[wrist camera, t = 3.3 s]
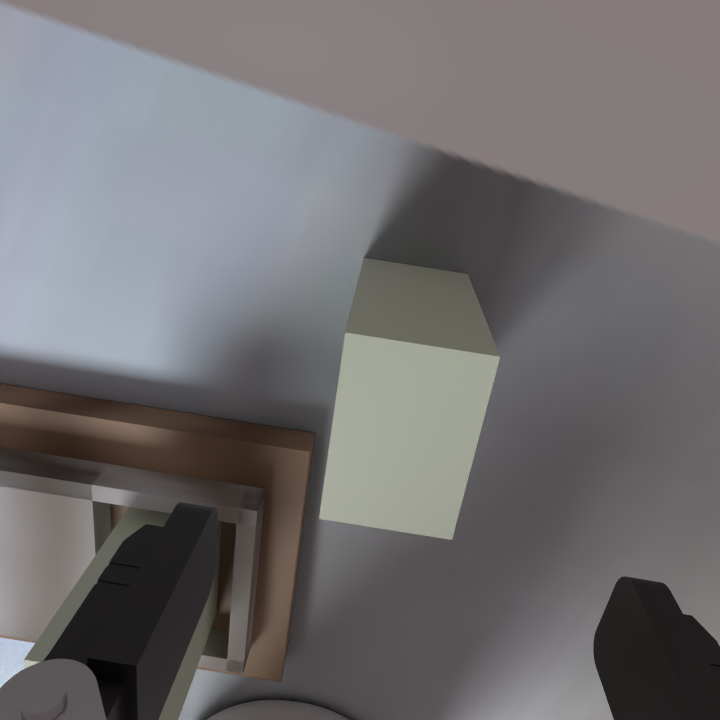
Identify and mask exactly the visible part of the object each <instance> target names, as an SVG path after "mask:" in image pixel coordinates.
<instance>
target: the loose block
mask: <svg viewBox="0 0 720 720" xmlns="http://www.w3.org/2000/svg"><path fill="white" fill-rule="evenodd" d="M499 360H500V355H499V352H498V350H497V347H496V345H495V342H494V340H493V337H492V334H491V332H490V329H489V327H488V324H487V322H486V319H485V317H484V314H483V312H482V309H481V306H480V304H479V301H478V299H477V296H476V294H475V291H474V289H473V286H472V284H471V281H470V278H469V276H468V274H465V273H458V272H452V271H446V270H439V269H433V268H426V267H420V266H414V265H407V264H401V263H395V262H388V261H382V260H375V259H369V258H364V260H363V264H362V268H361V272H360V276H359V279H358V283H357V287H356V291H355V295H354V299H353V303H352V307H351V311H350V315H349V319H348V323H347V327H346V331H345V337H344V344H343V351H342V358H341V366H340V373H339V380H338V387H337V394H336V401H335V408H334V415H333V422H332V429H331V436H330V444H329V451H328V458H327V465H326V472H325V479H324V486H323V493H322V500H321V507H320V514H319V519H323V520H329V521H335V522H342V523H348V524H354V525H361V526H367V527H373V528H380V529H386V530H392V531H399V532H405V533H411V534H418V535H424V536H430V537H437V538H443V539H449V540H452V538H453V534H454V531H455V527H456V523H457V519H458V515H459V512H460V508H461V504H462V500H463V496H464V493H465V489H466V485H467V481H468V477H469V474H470V470H471V466H472V462H473V458H474V455H475V451H476V447H477V443H478V439H479V436H480V432H481V428H482V424H483V421H484V417H485V413H486V409H487V405H488V402H489V398H490V394H491V390H492V386H493V383H494V379H495V375H496V371H497V367H498V364H499Z"/></svg>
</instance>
